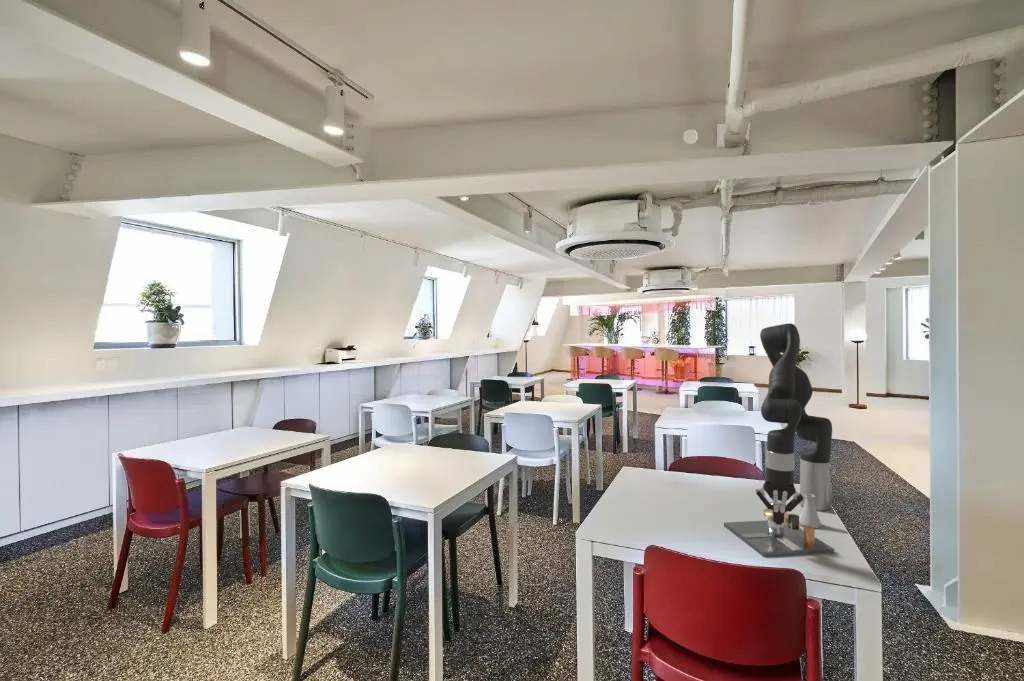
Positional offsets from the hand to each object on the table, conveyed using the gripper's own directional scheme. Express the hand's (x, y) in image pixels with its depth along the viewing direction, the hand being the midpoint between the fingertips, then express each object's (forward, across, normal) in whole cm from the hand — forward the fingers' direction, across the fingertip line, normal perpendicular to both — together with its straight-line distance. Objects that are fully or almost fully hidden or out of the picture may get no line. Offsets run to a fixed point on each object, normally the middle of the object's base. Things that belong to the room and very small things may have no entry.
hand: (778, 523), depth 148 cm
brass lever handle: (+1, -2, -5) cm, 5 cm away
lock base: (+8, -1, -9) cm, 12 cm away
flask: (+8, -13, -25) cm, 29 cm away
